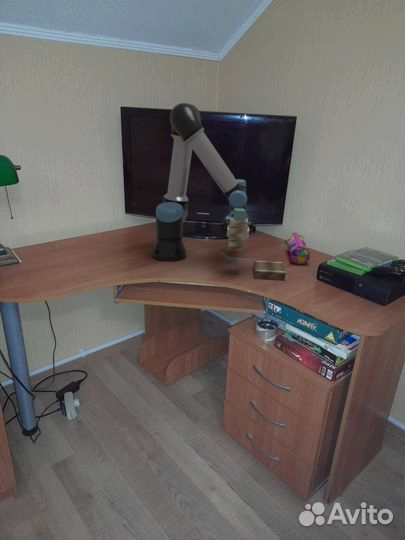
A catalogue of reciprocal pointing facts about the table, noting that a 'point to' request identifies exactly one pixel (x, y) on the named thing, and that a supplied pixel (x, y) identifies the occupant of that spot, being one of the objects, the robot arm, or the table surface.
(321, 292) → the table surface
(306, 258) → the pencil case
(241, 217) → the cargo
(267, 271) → the dock
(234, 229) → the wooden block tower
